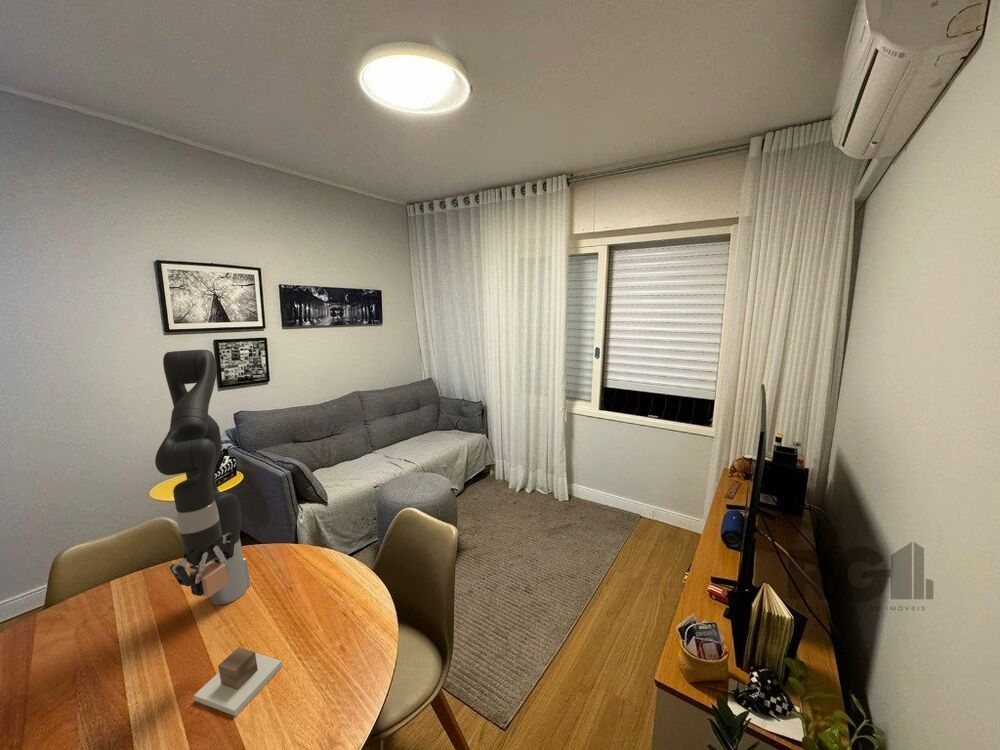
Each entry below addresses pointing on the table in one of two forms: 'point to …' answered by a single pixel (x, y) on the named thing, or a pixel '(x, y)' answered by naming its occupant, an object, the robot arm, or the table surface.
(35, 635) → the table surface
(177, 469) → the robot arm
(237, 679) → the walnut brick
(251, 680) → the base plate
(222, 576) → the pink cube
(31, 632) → the table surface
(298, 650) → the table surface
